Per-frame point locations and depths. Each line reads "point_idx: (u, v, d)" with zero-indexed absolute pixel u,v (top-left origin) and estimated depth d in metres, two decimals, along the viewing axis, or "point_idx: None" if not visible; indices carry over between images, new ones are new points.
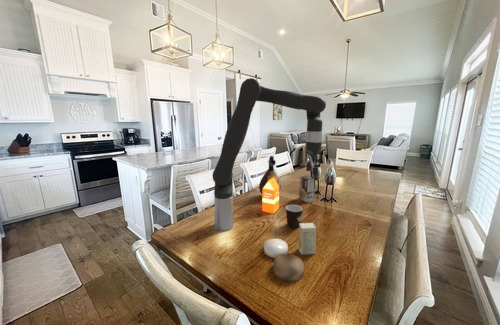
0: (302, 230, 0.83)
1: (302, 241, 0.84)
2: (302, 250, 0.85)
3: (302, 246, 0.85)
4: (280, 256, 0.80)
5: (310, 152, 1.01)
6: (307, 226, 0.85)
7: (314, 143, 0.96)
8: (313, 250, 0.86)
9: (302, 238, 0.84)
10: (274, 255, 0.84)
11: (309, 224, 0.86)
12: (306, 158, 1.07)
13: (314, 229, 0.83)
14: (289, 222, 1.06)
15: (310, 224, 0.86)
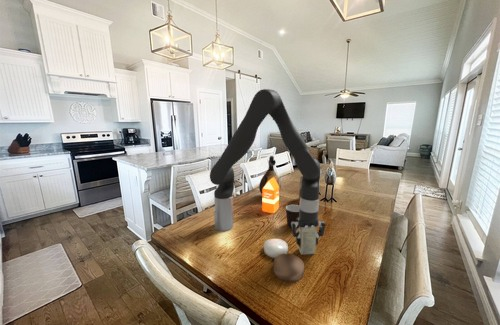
0: (302, 230, 0.83)
1: (302, 241, 0.84)
2: (302, 250, 0.85)
3: (302, 246, 0.85)
4: (280, 256, 0.80)
5: (308, 222, 0.84)
6: None
7: (318, 210, 0.83)
8: (313, 250, 0.86)
9: (302, 238, 0.84)
10: (274, 255, 0.84)
11: None
12: (295, 232, 0.85)
13: (314, 229, 0.83)
14: (289, 222, 1.06)
15: None
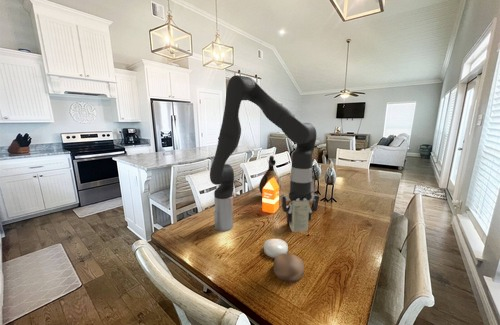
0: (293, 204, 0.74)
1: (293, 216, 0.75)
2: (293, 227, 0.76)
3: (293, 222, 0.76)
4: (280, 256, 0.80)
5: (300, 195, 0.75)
6: None
7: (311, 181, 0.74)
8: (306, 227, 0.77)
9: (293, 213, 0.75)
10: (274, 255, 0.84)
11: None
12: None
13: (307, 202, 0.75)
14: (289, 222, 1.06)
15: None
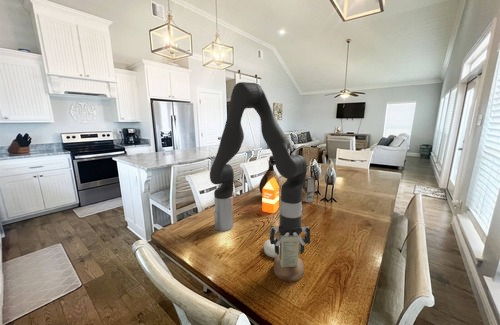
0: (282, 239, 0.72)
1: (282, 252, 0.73)
2: (282, 262, 0.74)
3: (282, 258, 0.73)
4: None
5: (289, 228, 0.72)
6: None
7: (301, 215, 0.71)
8: (295, 262, 0.74)
9: (282, 248, 0.73)
10: (274, 255, 0.84)
11: None
12: (274, 239, 0.73)
13: (296, 238, 0.72)
14: None
15: None
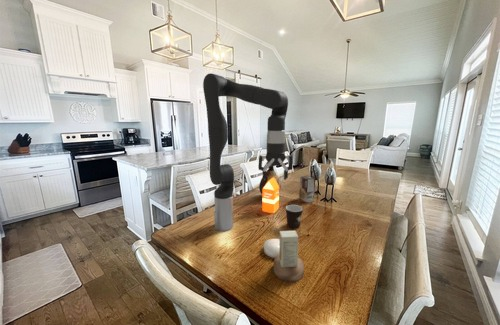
0: (282, 239, 0.72)
1: (282, 252, 0.73)
2: (282, 262, 0.74)
3: (282, 258, 0.73)
4: None
5: (275, 155, 0.85)
6: (288, 234, 0.73)
7: (284, 144, 0.84)
8: (295, 262, 0.74)
9: (282, 248, 0.73)
10: (274, 255, 0.84)
11: (291, 232, 0.74)
12: (261, 165, 0.86)
13: (296, 238, 0.72)
14: (289, 222, 1.06)
15: (292, 232, 0.74)
